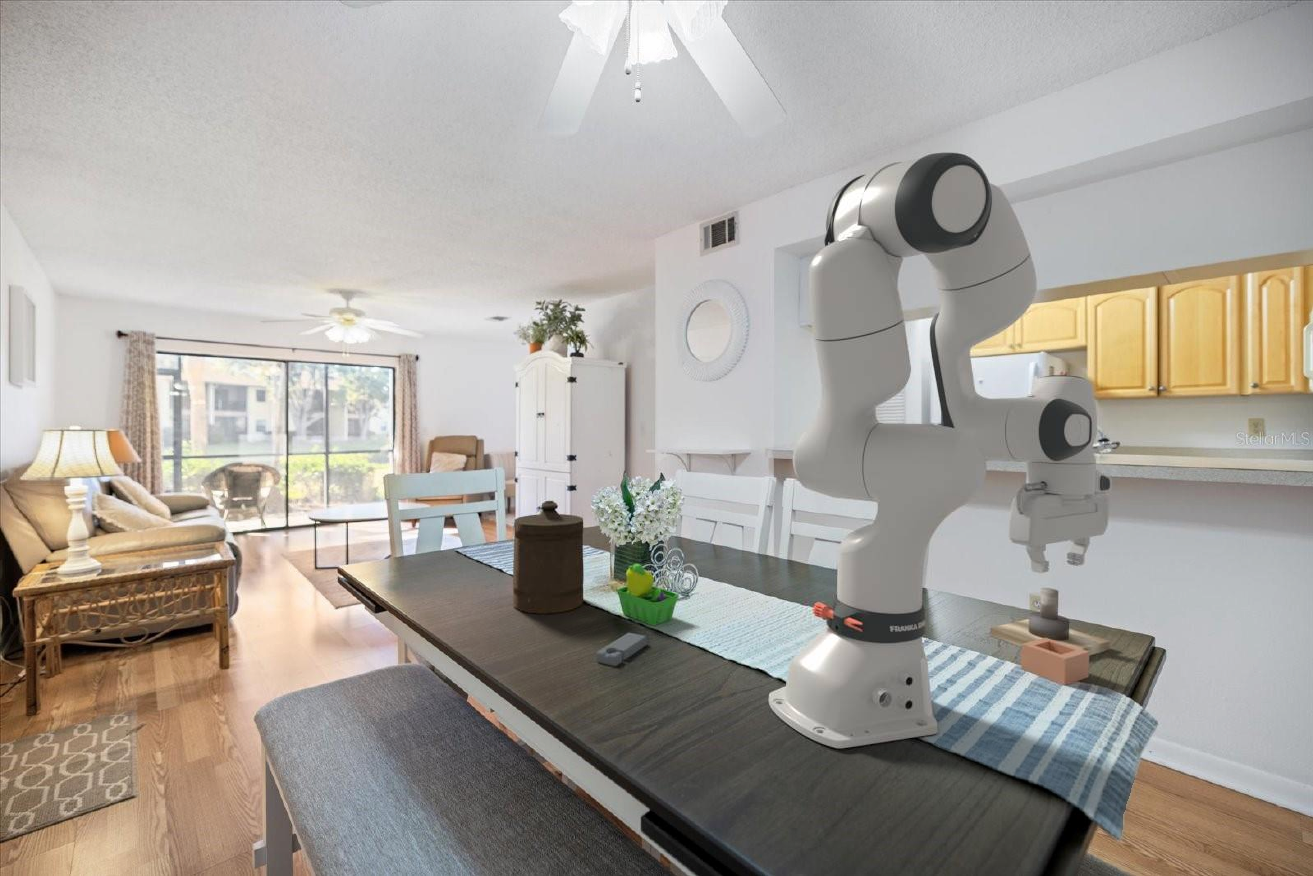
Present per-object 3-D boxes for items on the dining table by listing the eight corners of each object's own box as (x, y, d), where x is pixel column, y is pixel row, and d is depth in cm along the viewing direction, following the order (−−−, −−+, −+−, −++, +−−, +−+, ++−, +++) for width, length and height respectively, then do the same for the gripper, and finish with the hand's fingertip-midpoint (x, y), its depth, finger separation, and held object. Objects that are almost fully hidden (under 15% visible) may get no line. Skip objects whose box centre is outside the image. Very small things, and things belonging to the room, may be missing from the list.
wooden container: (575, 590, 132) (575, 495, 131) (590, 610, 118) (591, 504, 118) (509, 596, 127) (509, 498, 126) (517, 618, 113) (517, 507, 112)
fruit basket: (680, 619, 113) (681, 563, 112) (648, 630, 107) (649, 570, 106) (641, 606, 121) (642, 553, 121) (609, 615, 115) (609, 560, 114)
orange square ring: (1064, 685, 85) (1065, 658, 85) (1021, 668, 91) (1021, 643, 91) (1088, 677, 88) (1089, 651, 88) (1045, 661, 94) (1045, 637, 94)
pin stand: (1066, 662, 94) (1067, 605, 93) (990, 635, 105) (991, 584, 105) (1109, 649, 99) (1111, 595, 99) (1033, 625, 111) (1034, 577, 111)
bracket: (647, 647, 100) (647, 635, 100) (615, 669, 91) (615, 656, 91) (627, 643, 102) (628, 632, 102) (595, 664, 93) (595, 652, 93)
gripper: (1040, 486, 82) (1038, 582, 82) (1118, 479, 90) (1116, 565, 91) (997, 482, 87) (996, 571, 88) (1075, 475, 96) (1073, 556, 97)
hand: (1058, 568), depth 89 cm, fingers open, 8 cm apart
